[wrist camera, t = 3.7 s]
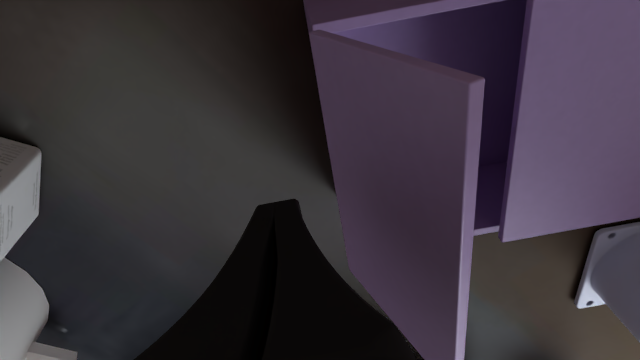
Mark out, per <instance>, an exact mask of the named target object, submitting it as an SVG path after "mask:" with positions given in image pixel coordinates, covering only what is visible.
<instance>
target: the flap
mask: <svg viewBox="0 0 640 360" xmlns="http://www.w3.org/2000/svg"><path fill="white" fill-rule="evenodd" d="M309 35H310V40H311V46H312V52H313V58H314V64H315V70H316V76H317V82H318V88H319V94H320V100H321V106H322V111H323V117H324V123H325V129H326V135H327V141H328V147H329V153H330V159H331V165H332V171H333V176H334V182H335V188H336V194H337V200H338V206H339V212H340V218H341V224H342V230H343V236H344V241H345V247H346V253H347V259H348V265H349V270H350V271H351V272H352V273H353V275H354V276H355V277H356V278H357V279H358V281H359V282H360V283H361V284H362V285H363V287H364V288H365V289H366V290H367V291H368V293H369V294H370V295H371V296H372V297H373V299H374V300H375V301H376V302H377V303H378V305H379V306H380V307H381V308H382V309H383V311H384V312H385V313H386V314H387V315H388V317H389V318H390V319H391V320H392V321H393V323H394V324H395V325H396V326H397V327H398V329H399V330H400V331H401V332H402V333H403V335H404V336H405V337H406V338H407V339H408V341H409V342H410V343H411V344H412V345H413V347H414V348H415V349H416V350H417V351H418V353H419V354H420V355H421V356H422V357H423V359H424V360H464V355H465V341H466V328H467V314H468V301H469V287H470V273H471V260H472V246H473V233H474V219H475V206H476V192H477V179H478V165H479V152H480V138H481V125H482V111H483V98H484V84H485V79H484V77H481V76H477V75H474V74H470V73H467V72H464V71H460V70H457V69H453V68H450V67H446V66H443V65H440V64H436V63H433V62H429V61H426V60H422V59H419V58H416V57H412V56H409V55H405V54H402V53H398V52H395V51H392V50H388V49H385V48H381V47H378V46H374V45H371V44H368V43H364V42H361V41H357V40H354V39H350V38H347V37H344V36H340V35H337V34H333V33H330V32H327V31H323V30H315V31H312V32H310V33H309Z"/></svg>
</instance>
